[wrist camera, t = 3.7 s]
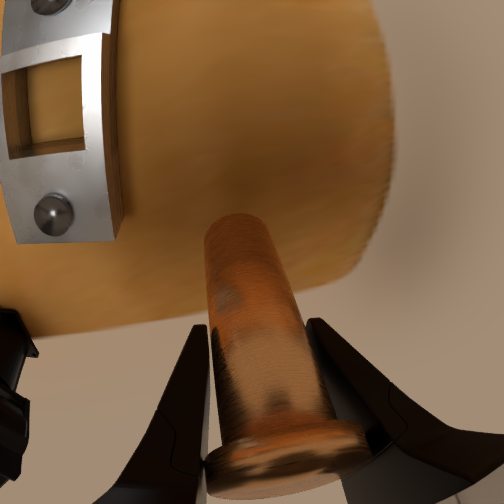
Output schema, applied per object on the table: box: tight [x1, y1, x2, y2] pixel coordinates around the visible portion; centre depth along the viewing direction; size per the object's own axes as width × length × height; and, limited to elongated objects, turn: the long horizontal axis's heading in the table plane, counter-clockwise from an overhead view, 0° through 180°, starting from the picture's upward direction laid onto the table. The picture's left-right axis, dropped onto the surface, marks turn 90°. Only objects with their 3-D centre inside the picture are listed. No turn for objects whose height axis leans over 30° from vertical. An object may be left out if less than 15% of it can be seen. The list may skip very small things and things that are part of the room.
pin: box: [204, 214, 373, 500], centre depth 10 cm, size 4×4×10 cm
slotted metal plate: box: [0, 0, 124, 244], centre depth 13 cm, size 17×7×4 cm, turn 175°
